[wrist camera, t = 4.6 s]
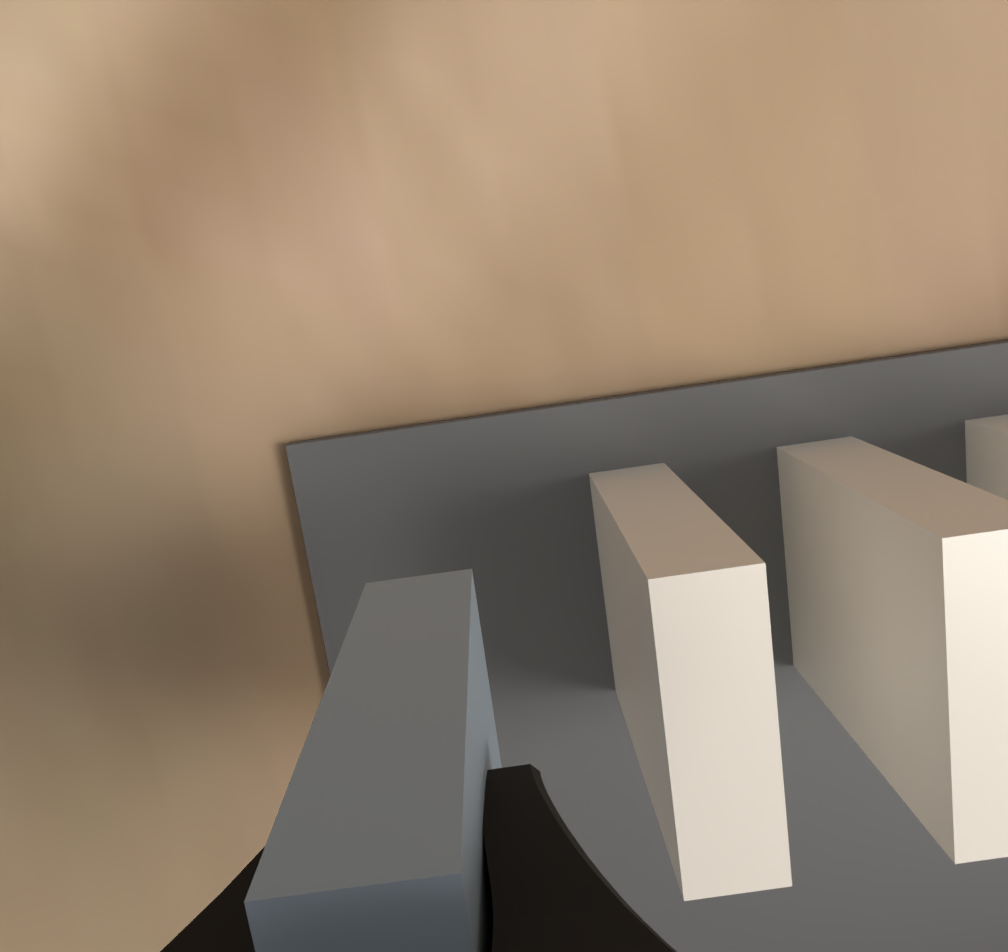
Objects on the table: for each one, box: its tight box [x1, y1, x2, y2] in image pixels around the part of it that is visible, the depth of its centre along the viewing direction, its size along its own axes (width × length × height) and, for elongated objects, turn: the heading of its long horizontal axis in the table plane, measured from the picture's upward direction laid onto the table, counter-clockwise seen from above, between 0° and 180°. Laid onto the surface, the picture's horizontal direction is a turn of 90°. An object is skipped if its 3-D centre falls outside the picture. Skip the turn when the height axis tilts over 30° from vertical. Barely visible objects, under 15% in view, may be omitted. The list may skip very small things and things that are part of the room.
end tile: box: [244, 569, 502, 952], centre depth 11 cm, size 2×5×7 cm, turn 8°
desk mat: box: [285, 340, 1008, 952], centre depth 20 cm, size 22×15×1 cm
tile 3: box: [777, 436, 1008, 864], centre depth 16 cm, size 2×5×7 cm, turn 8°
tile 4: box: [589, 463, 792, 901], centre depth 16 cm, size 2×5×7 cm, turn 8°
